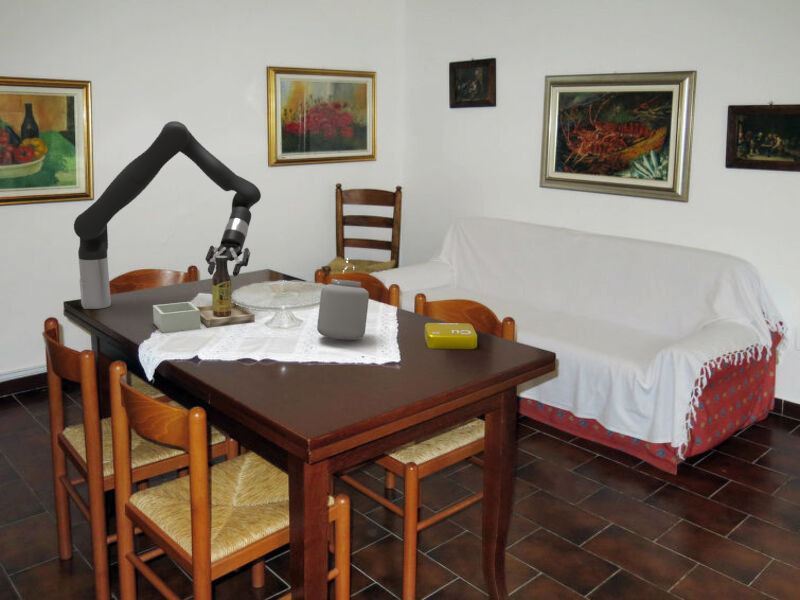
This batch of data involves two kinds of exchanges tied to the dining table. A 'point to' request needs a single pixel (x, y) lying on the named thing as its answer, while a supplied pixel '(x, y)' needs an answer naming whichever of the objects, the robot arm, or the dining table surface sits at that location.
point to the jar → (343, 310)
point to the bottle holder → (176, 317)
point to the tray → (235, 317)
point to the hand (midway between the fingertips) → (222, 274)
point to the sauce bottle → (221, 288)
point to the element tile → (450, 336)
